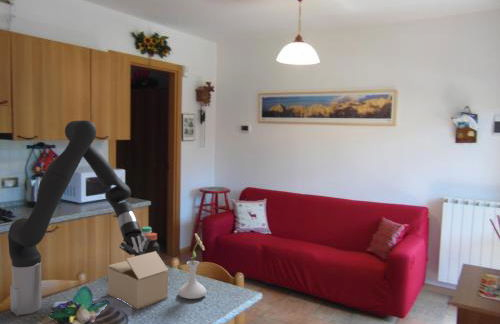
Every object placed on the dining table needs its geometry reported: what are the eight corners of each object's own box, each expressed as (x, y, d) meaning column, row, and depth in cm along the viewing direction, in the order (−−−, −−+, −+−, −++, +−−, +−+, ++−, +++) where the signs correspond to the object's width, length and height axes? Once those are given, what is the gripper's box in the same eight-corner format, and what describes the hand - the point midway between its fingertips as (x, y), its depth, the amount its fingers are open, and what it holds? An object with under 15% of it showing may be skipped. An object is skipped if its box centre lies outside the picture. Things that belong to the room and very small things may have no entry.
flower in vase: (201, 303, 156) (202, 239, 154) (173, 300, 158) (174, 237, 156) (211, 290, 168) (212, 231, 166) (185, 287, 171) (186, 229, 169)
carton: (137, 309, 149) (137, 280, 148) (108, 294, 161) (108, 267, 161) (167, 298, 159) (167, 271, 159) (137, 285, 172) (138, 259, 171)
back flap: (122, 272, 155) (122, 271, 154) (108, 266, 161) (108, 265, 161) (151, 264, 165) (151, 263, 165) (137, 259, 171) (137, 257, 171)
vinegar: (160, 275, 184) (161, 232, 183) (155, 281, 177) (156, 236, 176) (146, 274, 185) (146, 232, 183) (141, 280, 178) (141, 235, 176)
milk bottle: (144, 272, 188) (145, 230, 186) (134, 268, 192) (134, 227, 191) (157, 268, 194) (158, 227, 192) (147, 264, 199) (147, 224, 197)
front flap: (138, 279, 148) (139, 278, 148) (125, 259, 153) (126, 258, 152) (167, 270, 158) (168, 269, 158) (155, 252, 163) (155, 251, 163)
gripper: (115, 222, 160) (128, 260, 151) (146, 218, 168) (160, 254, 160) (110, 232, 164) (122, 270, 156) (141, 228, 173) (154, 263, 164)
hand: (141, 262), depth 158 cm, fingers closed
